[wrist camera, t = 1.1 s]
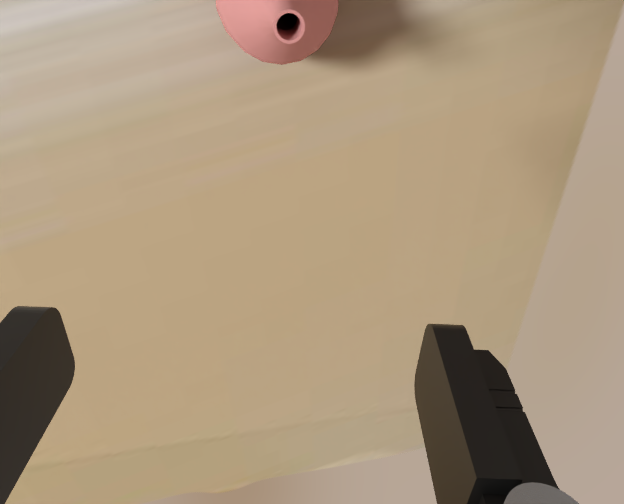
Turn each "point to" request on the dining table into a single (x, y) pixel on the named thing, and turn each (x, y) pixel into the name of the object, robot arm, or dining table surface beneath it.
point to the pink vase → (278, 26)
